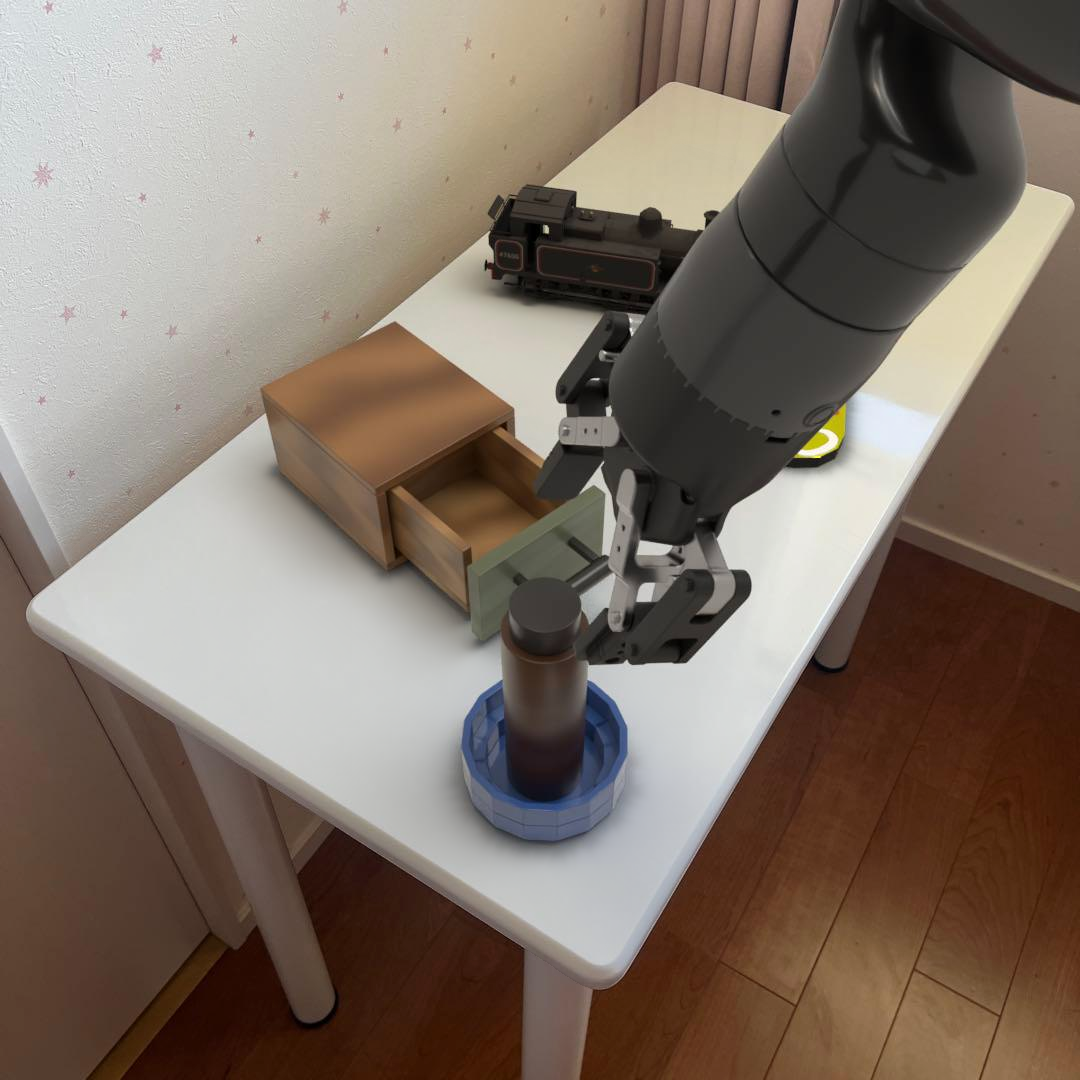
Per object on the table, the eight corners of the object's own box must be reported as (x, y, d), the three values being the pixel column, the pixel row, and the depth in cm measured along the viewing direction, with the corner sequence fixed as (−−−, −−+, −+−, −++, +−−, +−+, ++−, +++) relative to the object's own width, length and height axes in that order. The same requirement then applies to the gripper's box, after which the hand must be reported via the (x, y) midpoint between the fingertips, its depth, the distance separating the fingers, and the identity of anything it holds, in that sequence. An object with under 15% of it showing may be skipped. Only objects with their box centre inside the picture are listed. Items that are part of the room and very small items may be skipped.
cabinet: (517, 492, 87) (514, 408, 81) (387, 572, 81) (375, 488, 75) (404, 403, 94) (395, 320, 88) (279, 471, 89) (259, 387, 82)
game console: (724, 327, 102) (726, 313, 101) (846, 340, 100) (849, 327, 99) (706, 456, 90) (708, 443, 89) (845, 474, 88) (848, 461, 87)
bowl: (538, 876, 65) (538, 843, 62) (433, 766, 70) (428, 731, 67) (657, 777, 69) (662, 742, 66) (550, 680, 74) (550, 644, 72)
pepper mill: (541, 816, 67) (541, 655, 55) (490, 765, 69) (480, 601, 58) (598, 770, 69) (610, 606, 57) (547, 722, 72) (548, 556, 60)
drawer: (640, 589, 79) (646, 523, 74) (520, 676, 74) (518, 611, 69) (483, 466, 88) (480, 399, 83) (366, 535, 82) (355, 469, 78)
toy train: (741, 340, 100) (756, 243, 93) (480, 299, 105) (476, 204, 98) (752, 293, 106) (767, 197, 98) (503, 256, 110) (500, 162, 103)
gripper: (614, 183, 41) (469, 442, 53) (726, 508, 34) (530, 717, 46) (779, 213, 44) (606, 450, 56) (911, 515, 37) (681, 709, 50)
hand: (571, 571), depth 51 cm, fingers open, 8 cm apart
